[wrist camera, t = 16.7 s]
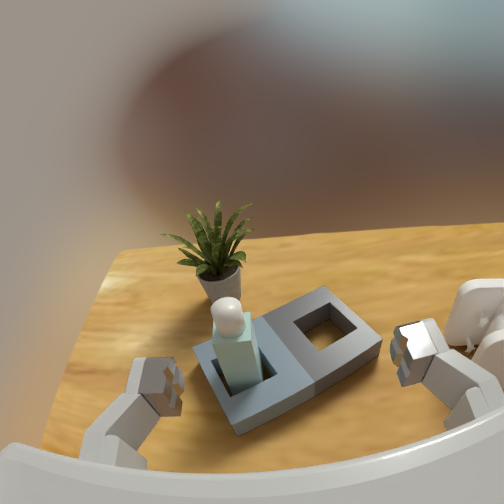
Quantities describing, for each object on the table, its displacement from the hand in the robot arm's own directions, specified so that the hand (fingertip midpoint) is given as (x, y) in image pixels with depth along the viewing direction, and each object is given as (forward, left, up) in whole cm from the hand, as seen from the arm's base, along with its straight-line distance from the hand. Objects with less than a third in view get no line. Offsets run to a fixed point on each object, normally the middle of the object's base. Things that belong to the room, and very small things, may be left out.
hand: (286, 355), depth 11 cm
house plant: (-7, -33, -26) cm, 42 cm away
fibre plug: (-2, -16, -26) cm, 31 cm away
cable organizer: (-30, +3, -26) cm, 40 cm away
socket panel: (-8, -16, -26) cm, 31 cm away
